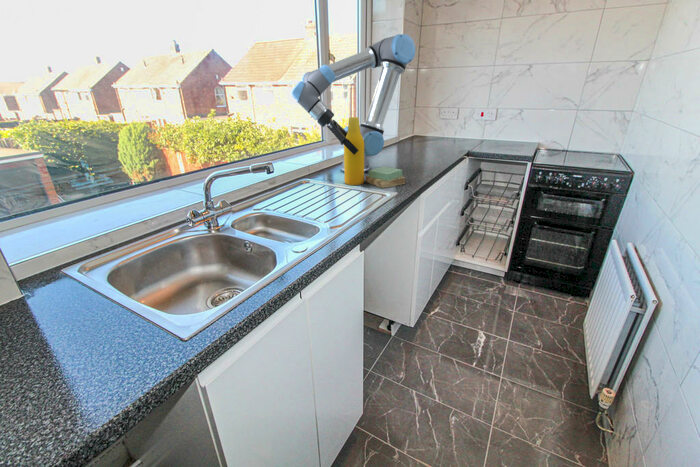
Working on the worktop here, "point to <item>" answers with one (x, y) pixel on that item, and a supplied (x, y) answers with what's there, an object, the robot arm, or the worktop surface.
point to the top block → (385, 173)
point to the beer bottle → (351, 161)
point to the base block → (385, 183)
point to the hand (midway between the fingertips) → (356, 150)
